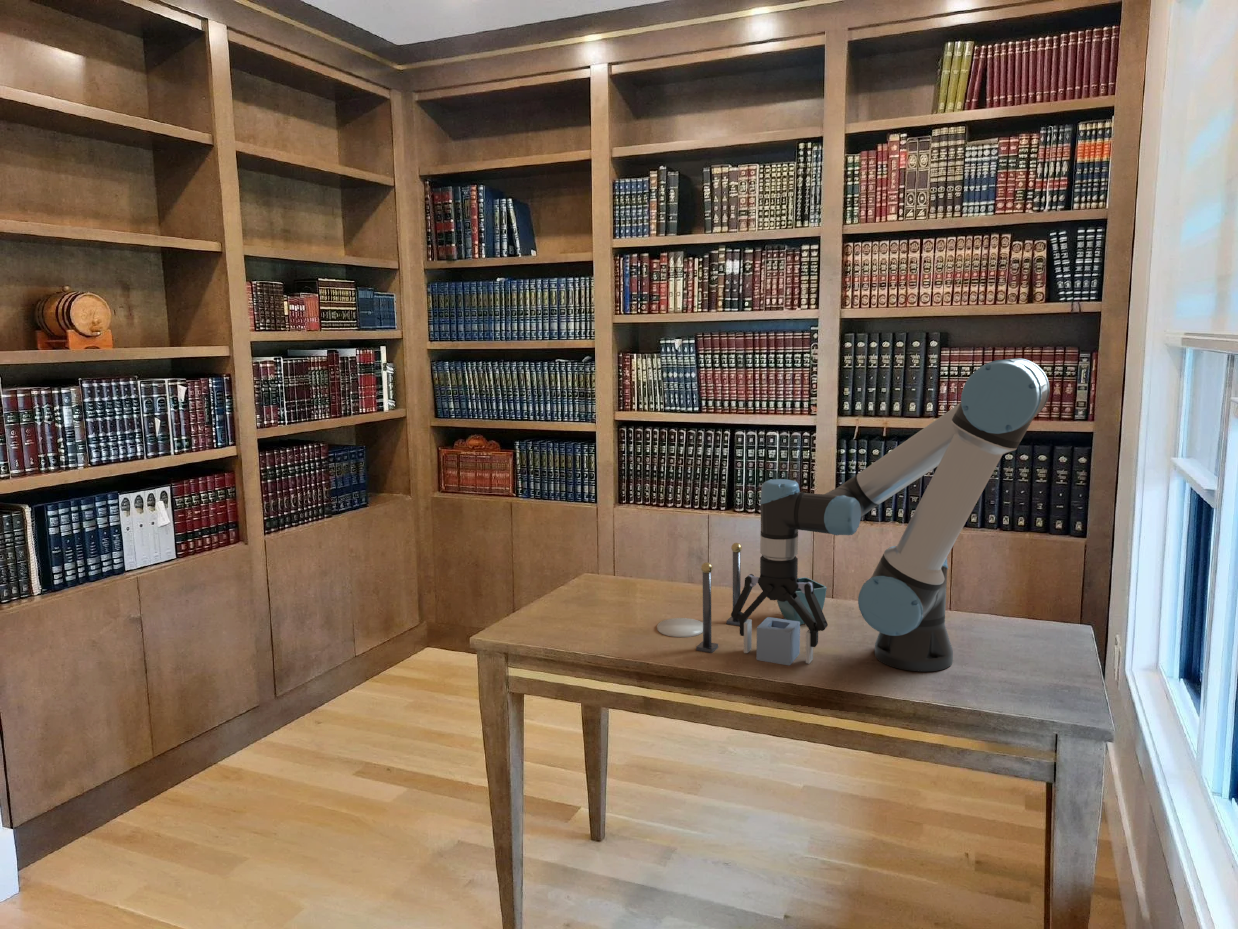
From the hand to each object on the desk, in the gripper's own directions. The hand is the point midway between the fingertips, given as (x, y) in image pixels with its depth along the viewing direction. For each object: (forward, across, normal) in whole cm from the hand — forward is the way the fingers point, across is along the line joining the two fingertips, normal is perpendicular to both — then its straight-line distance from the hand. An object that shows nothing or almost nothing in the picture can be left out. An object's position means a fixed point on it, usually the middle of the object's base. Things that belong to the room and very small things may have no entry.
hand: (777, 656), depth 176 cm
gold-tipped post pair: (0, +15, -7) cm, 16 cm away
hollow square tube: (0, 0, 0) cm, 0 cm away
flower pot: (0, +2, -23) cm, 23 cm away
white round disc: (0, +25, -7) cm, 26 cm away
